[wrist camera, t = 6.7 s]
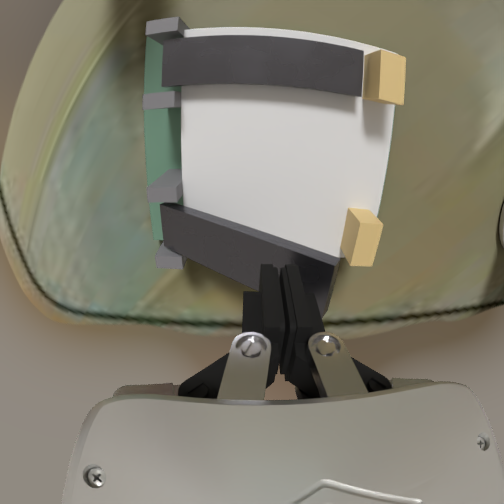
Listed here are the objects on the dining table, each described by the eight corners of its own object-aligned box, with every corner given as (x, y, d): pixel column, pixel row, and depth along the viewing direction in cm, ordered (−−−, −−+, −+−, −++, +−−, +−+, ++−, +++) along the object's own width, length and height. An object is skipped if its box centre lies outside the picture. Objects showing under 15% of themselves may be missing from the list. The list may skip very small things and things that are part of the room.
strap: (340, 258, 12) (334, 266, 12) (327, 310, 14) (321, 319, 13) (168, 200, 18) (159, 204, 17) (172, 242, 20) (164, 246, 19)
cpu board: (391, 57, 16) (440, 46, 10) (365, 242, 25) (396, 287, 19) (151, 39, 16) (111, 18, 9) (157, 233, 25) (129, 279, 18)
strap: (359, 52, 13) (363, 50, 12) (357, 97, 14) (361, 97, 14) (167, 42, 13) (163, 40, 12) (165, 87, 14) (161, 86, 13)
